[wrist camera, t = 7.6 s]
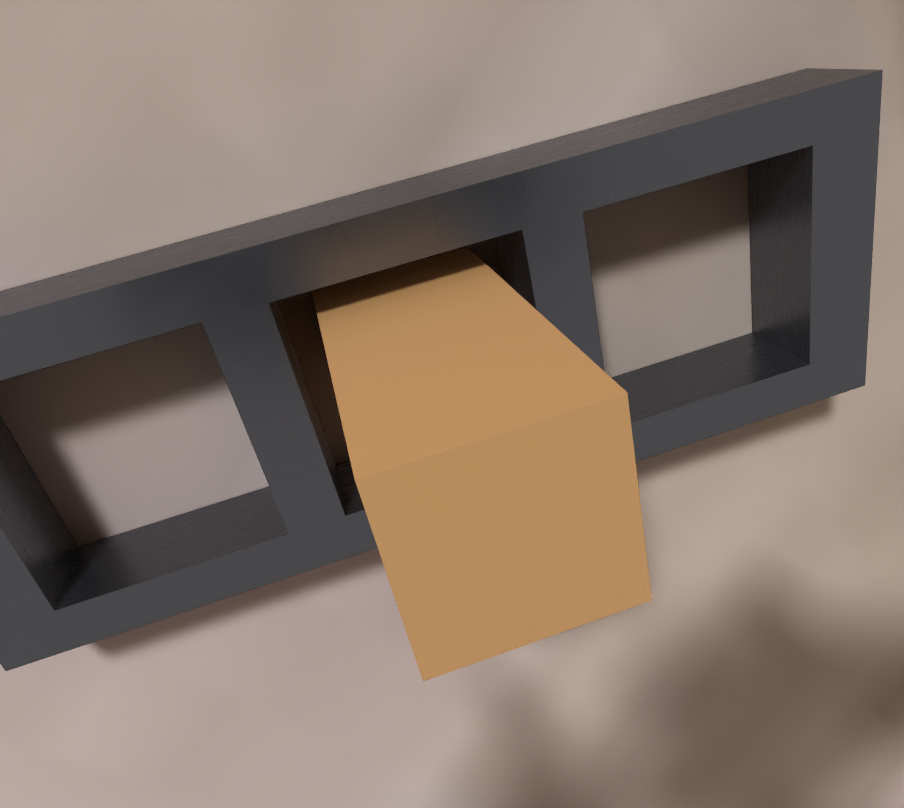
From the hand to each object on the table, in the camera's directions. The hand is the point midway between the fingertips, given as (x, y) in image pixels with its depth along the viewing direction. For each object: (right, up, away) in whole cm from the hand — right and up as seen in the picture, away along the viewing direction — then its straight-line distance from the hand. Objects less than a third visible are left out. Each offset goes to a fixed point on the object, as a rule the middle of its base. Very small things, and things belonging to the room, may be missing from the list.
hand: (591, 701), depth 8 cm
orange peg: (-3, +5, +10) cm, 12 cm away
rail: (-3, +5, +10) cm, 12 cm away
